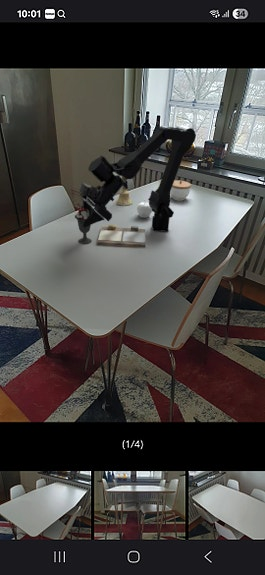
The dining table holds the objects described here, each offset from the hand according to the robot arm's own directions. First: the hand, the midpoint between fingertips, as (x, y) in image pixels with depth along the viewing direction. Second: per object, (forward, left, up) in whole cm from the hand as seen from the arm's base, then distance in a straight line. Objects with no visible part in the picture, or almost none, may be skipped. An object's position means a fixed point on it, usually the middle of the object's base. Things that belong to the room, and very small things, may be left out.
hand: (80, 223), depth 115 cm
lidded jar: (-42, -56, -8) cm, 70 cm away
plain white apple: (-24, -29, -8) cm, 38 cm away
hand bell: (-14, -45, -8) cm, 47 cm away
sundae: (-1, -1, -8) cm, 8 cm away
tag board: (-15, -6, -8) cm, 18 cm away
